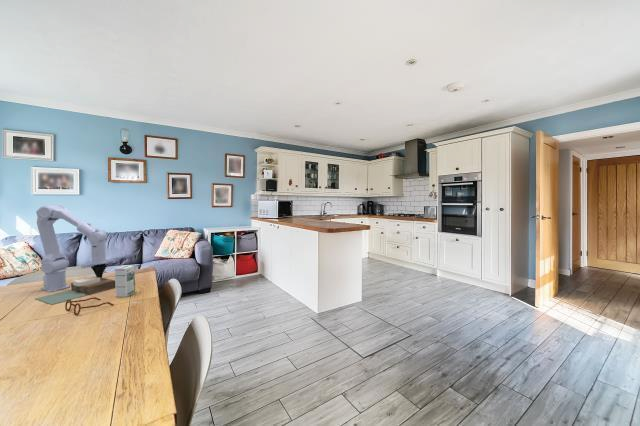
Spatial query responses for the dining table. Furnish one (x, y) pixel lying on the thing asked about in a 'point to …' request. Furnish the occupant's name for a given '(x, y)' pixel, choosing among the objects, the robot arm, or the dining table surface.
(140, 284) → the dining table surface
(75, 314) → the glasses
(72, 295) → the mat
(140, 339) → the dining table surface
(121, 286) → the syrup box
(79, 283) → the flat white box
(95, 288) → the plate
